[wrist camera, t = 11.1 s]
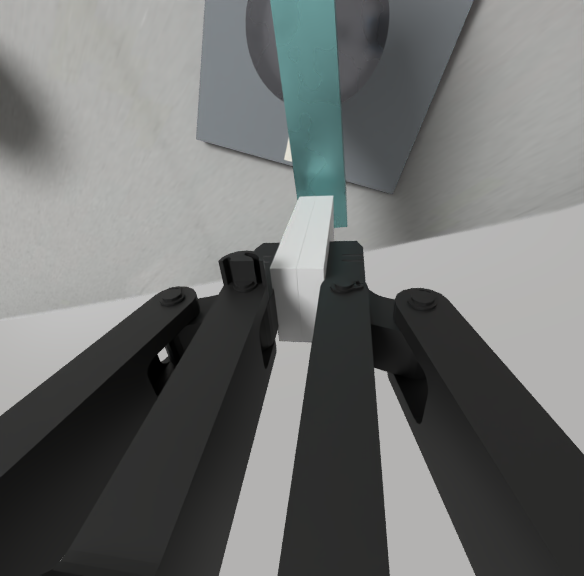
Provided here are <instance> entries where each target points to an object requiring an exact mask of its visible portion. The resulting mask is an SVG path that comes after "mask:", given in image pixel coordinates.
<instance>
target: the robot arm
mask: <svg viewBox="0 0 584 576" xmlns="http://www.w3.org/2000/svg"><path fill="white" fill-rule="evenodd" d="M219 266H220V270H221V275H222V279H223V283H224V286H223V288H222V290H221V292H220V293H219V295H215V296H210V297H205V298H199V299H198V298H197V295H196V292H195V291H194V290H193V289H192V288H189V287H179V286H178V287H172V288H169V289H167V290H164V291H162V292H160V293H158V294H157V295H155V296H154V297H152V298H151V299H150V300H149V301H147V302H146V303H145V304H143V305H142V306H141V307H140V308H138V309H137V310H136V311H134V312H133V313H132V314H131V315H129V316H128V317H127V318H125V319H124V320H123V321H122V322H120V323H119V324H118V325H117V326H115V327H114V328H113V329H112V330H110V331H109V332H108V333H106V334H105V335H104V336H103V337H101V338H100V339H99V340H97V341H96V342H95V343H93V344H92V345H91V346H90V347H88V348H87V349H86V350H84V351H83V352H82V353H81V354H79V355H78V356H77V357H76V358H74V359H73V360H72V361H70V362H69V363H68V364H67V365H65V366H64V367H63V368H61V369H60V370H59V371H58V372H56V373H55V374H54V375H53V376H51V377H50V378H49V379H47V380H46V381H45V382H43V383H42V384H41V385H40V386H38V387H37V388H36V389H34V390H33V391H32V392H31V393H29V394H28V395H27V396H25V397H24V398H23V399H22V400H20V401H19V402H18V403H16V404H15V405H14V406H13V407H11V408H10V409H9V410H8V411H6V412H5V413H4V414H2V415H1V416H0V576H219V572H220V568H221V564H222V560H223V557H224V553H225V549H226V545H227V541H228V537H229V533H230V530H231V525H232V522H233V518H234V514H235V510H236V506H237V503H238V499H239V495H240V491H241V487H242V483H243V479H244V475H245V471H246V468H247V464H248V460H249V456H250V452H251V448H252V444H253V441H254V437H255V433H256V429H257V425H258V421H259V417H260V413H261V410H262V406H263V402H264V398H265V394H266V390H267V387H268V383H269V379H270V375H271V371H272V367H273V363H274V359H275V356H276V342H275V337H276V334H277V330H278V335H279V341H291V342H312V346H311V352H310V360H309V366H308V373H307V380H306V387H305V393H304V400H303V407H302V414H301V420H300V427H299V434H298V441H297V447H296V454H295V461H294V468H293V475H292V481H291V488H290V496H289V502H288V508H287V515H286V523H285V529H284V536H283V542H282V549H281V556H280V563H279V570H278V576H390V574H389V562H388V561H389V560H388V547H387V536H386V535H387V534H386V521H385V509H384V495H383V482H382V469H381V455H380V442H379V430H378V415H377V403H376V389H375V376H374V368H377V369H380V370H384V371H387V373H388V378H389V381H390V383H391V385H392V387H393V390H394V392H395V394H396V396H397V399H398V401H399V403H400V405H401V408H402V410H403V412H404V414H405V417H406V419H407V421H408V423H409V426H410V428H411V430H412V432H413V435H414V437H415V439H416V442H417V444H418V446H419V448H420V451H421V453H422V455H423V457H424V460H425V462H426V464H427V466H428V469H429V471H430V473H431V475H432V478H433V480H434V482H435V484H436V487H437V489H438V491H439V494H440V496H441V498H442V500H443V503H444V505H445V507H446V509H447V512H448V514H449V516H450V518H451V521H452V523H453V525H454V527H455V530H456V532H457V534H458V536H459V539H460V541H461V543H462V545H463V548H464V550H465V552H466V555H467V557H468V559H469V561H470V564H471V566H472V568H473V570H474V573H475V575H476V576H584V454H583V453H582V452H581V451H580V450H579V448H578V447H577V446H576V445H575V444H574V443H573V442H572V441H571V439H570V438H569V437H568V436H567V435H566V434H565V433H564V431H563V430H562V429H561V428H560V427H559V426H558V425H557V423H556V422H555V421H554V420H553V419H552V418H551V417H550V415H549V414H548V413H547V412H546V411H545V410H544V409H543V407H542V406H541V405H540V404H539V403H538V402H537V401H536V399H535V398H534V397H533V396H532V395H531V394H530V393H529V391H528V390H527V389H526V388H525V387H524V386H523V385H522V383H521V382H520V381H519V380H518V379H517V378H516V377H515V375H514V374H513V373H512V372H511V371H510V370H509V369H508V367H507V366H506V365H505V364H504V363H503V362H502V361H501V359H500V358H499V357H498V356H497V355H496V354H495V353H494V352H493V350H492V349H491V348H490V347H489V346H488V345H487V344H486V342H485V341H484V340H483V339H482V338H481V337H480V336H479V334H478V333H477V332H476V331H475V330H474V329H473V328H472V326H471V325H470V324H469V323H468V322H467V321H466V320H465V319H464V317H463V316H462V315H461V314H460V313H459V312H458V311H457V310H456V308H455V307H454V306H453V305H452V304H451V303H450V301H449V300H448V299H447V298H445V297H444V296H442V294H440V293H437V292H435V291H433V290H429V289H424V288H411V289H407V290H403V291H402V292H400V293H398V294H397V296H396V298H395V299H389V298H385V297H382V296H379V295H377V294H375V293H373V292H372V291H370V290H369V289H368V286H367V284H366V282H365V270H364V257H363V247H362V246H361V245H360V244H359V243H358V242H357V241H334V202H333V196H304V197H299V199H298V201H297V203H296V206H295V208H294V211H293V213H292V216H291V218H290V220H289V223H288V225H287V228H286V230H285V233H284V235H283V237H282V240H281V242H280V243H263V244H262V245H260V246H259V247H258V248H256V249H255V251H238V252H234V253H230V254H228V255H226V256H224V257H222V258H221V259H220V260H219ZM164 347H165V348H166V351H167V354H168V357H167V358H166V359H165V360H163V361H162V362H160V360H159V357H158V355H157V354H158V353H159V352H160V351H161V350H162V349H163V348H164ZM61 559H62V560H61ZM60 560H61V561H60Z"/></svg>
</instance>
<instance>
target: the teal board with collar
mask: <svg viewBox="0 0 584 576" xmlns="http://www.w3.org/2000/svg"><path fill="white" fill-rule="evenodd" d="M245 23H246V38H247V45H248V49H249V54H250V57H251V60H252V63H253V65H254V67H255V69H256V71H257V74H258V75H259V77H260V78H261V80H262V82H263V83H264V84H265V85H266V87H267V88H268V89H269V90H270V91H271V92H272V93H273V94H274V95H275V96H276V97H278V98H279V99H280V100H281V101H283V102H284V105H285V113H286V120H287V127H288V134H289V142H290V149H291V156H292V164H293V171H294V178H295V186H296V193H297V200H298V199H299V197H304V196H333V202H334V228H338V227H347V200H346V176H345V158H344V141H343V123H342V105H341V103H343V102H345V101H347V100H348V99H349V98H351V97H352V96H353V95H355V94H356V93H357V92H358V91H359V90H360V89H361V88H362V87H363V86H364V85H365V83H366V82H367V81H368V80H369V78H370V77H371V75H372V74H373V72H374V71H375V69H376V67H377V65H378V63H379V61H380V58H381V56H382V53H383V51H384V47H385V43H386V40H387V34H388V28H389V0H248V2H247V7H246V19H245Z"/></svg>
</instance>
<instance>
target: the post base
mask: <svg viewBox="0 0 584 576" xmlns="http://www.w3.org/2000/svg"><path fill="white" fill-rule="evenodd" d="M473 1H474V0H389V28H388V34H387V40H386V43H385V47H384V51H383V53H382V56H381V58H380V61H379V63H378V65H377V67H376V69H375V71H374V72H373V74H372V75H371V77H370V78H369V80H368V81H367V82H366V83H365V85H364V86H363V87H362V88H361V89H360V90H359V91H358V92H357V93H356V94H355V95H353V96H352V97H351V98H349V99H348V100H347V101H345V102H343V103H341V105H342V123H343V141H344V158H345V176H346V181H347V182H351V183H354V184H358V185H361V186H365V187H369V188H372V189H376V190H379V191H383V192H386V193H390V194H393V192H394V190H395V188H396V185H397V183H398V180H399V178H400V176H401V173H402V171H403V168H404V166H405V164H406V161H407V159H408V156H409V154H410V152H411V149H412V147H413V144H414V142H415V140H416V137H417V135H418V132H419V130H420V128H421V125H422V123H423V120H424V118H425V116H426V113H427V111H428V109H429V106H430V104H431V101H432V99H433V97H434V94H435V92H436V89H437V87H438V85H439V82H440V80H441V77H442V75H443V73H444V70H445V68H446V65H447V63H448V61H449V58H450V56H451V53H452V51H453V49H454V46H455V44H456V41H457V39H458V37H459V34H460V32H461V30H462V27H463V25H464V22H465V20H466V18H467V15H468V13H469V10H470V8H471V6H472V3H473ZM247 2H248V0H205V10H204V25H203V41H202V57H201V72H200V88H199V103H198V119H197V134H196V139H197V140H201V141H204V142H208V143H212V144H215V145H219V146H222V147H226V148H229V149H233V150H237V151H240V152H244V153H247V154H251V155H254V156H258V157H262V158H265V159H269V160H272V161H276V162H279V163H283V164H287V165H290V166H293V164H292V156H291V149H290V142H289V134H288V127H287V120H286V113H285V105H284V102H283V101H281V100H280V99H279V98H278V97H276V96H275V95H274V94H273V93H272V92H271V91H270V90H269V89H268V88H267V87H266V85H265V84H264V83H263V82H262V80H261V78H260V77H259V75H258V74H257V71H256V69H255V67H254V65H253V63H252V60H251V57H250V54H249V49H248V45H247V38H246V23H245V19H246V7H247Z"/></svg>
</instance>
